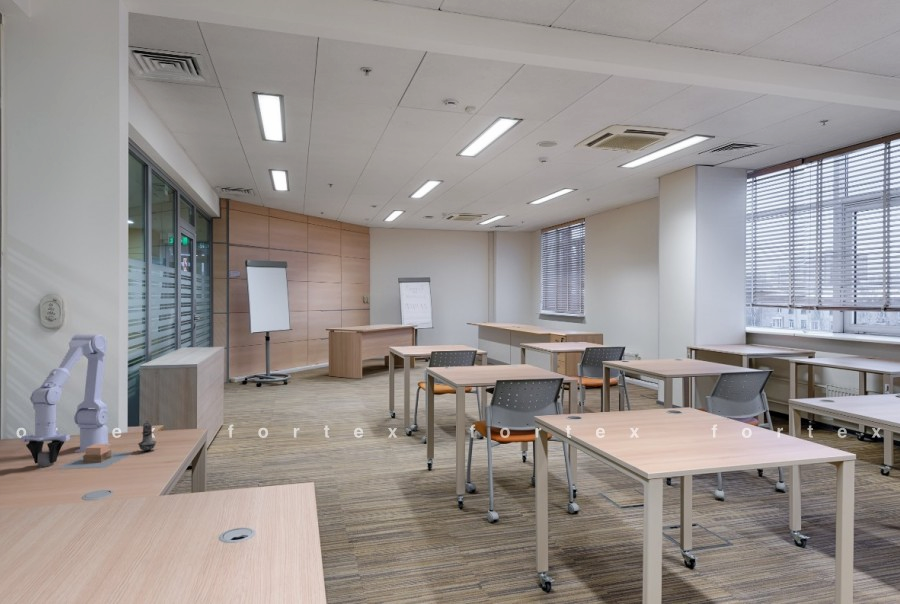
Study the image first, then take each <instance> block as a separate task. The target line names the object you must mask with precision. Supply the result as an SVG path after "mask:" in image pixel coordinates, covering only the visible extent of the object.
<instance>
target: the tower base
mask: <svg viewBox="0 0 900 604" xmlns="http://www.w3.org/2000/svg"><path fill="white" fill-rule="evenodd" d="M111 453H112V450H110V449H109V451H108V452H105V453H103V454H101V455H86V454H83V455H82V457H83V463H99V462H103V461H105V460H107V459H109V458H111Z"/></svg>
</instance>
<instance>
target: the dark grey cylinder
mask: <svg viewBox="0 0 900 604" xmlns="http://www.w3.org/2000/svg"><path fill="white" fill-rule="evenodd" d="M54 465H55V462H54V463H50V453H49V449H48V450H42V451H41V452H38V463H37V468H41V469H42V468H43V469H44V468H49V467H52V466H54Z"/></svg>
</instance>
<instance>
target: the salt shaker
mask: <svg viewBox="0 0 900 604" xmlns="http://www.w3.org/2000/svg"><path fill="white" fill-rule="evenodd" d="M152 426H153V424H152V423H151V422H149V420H148V419H147V420H146V421H145V422H144V423H143V425H142V432H141V434H142V440H141V442H139V443H137V444H138V447H139V449H140V450H141V451H140V454H148V453H153V452H155V449H154V448H155V446H156V443H157V441H156V440H154V439H153V433H154V432H153V428H152Z"/></svg>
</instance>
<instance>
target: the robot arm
mask: <svg viewBox="0 0 900 604" xmlns="http://www.w3.org/2000/svg"><path fill="white" fill-rule="evenodd" d="M107 343H108V340H107V339H106V337H105V336H104V335H102V334H100V333H97V334H80V333H77V334H74V335H73V336H72V338H71V339H70V341H69V342H68V346H69V348H68V351H67V352H66V354H65V356H64V358H63V359H62V361H61V363H59V366H58V367H57V368H54V369H52V370H51V371H50V372H49V375H47V377H46V378H45V379H44V382H43V383H41V385H40V387H37V388H36V389H34V390H33V391H32V393H31V395H30V397H29V400H30V402H31V404H32V407H33V409H34V412H35V413H34V434H28V435H27V434H25V435H23V436H21V443H26V442H27V444H26V445H25V446H26V448H27V449H28V451H29V452H30V453H31V455H32V458H33V461H34V464H38V452H41V451H43V447H44V443H45V442H48V443H46V444H47V448H48V450H49V453H50V463H54V464H55V463H56V462H57V460H58V456H59V453H60V450H62V447H63V445H64V444H65V442H68V441H70V440H71V439H70V438H71V437H70V436H71V435H70V434H65V433H57V404H58V402H59V401H60V400H61V397H62V392H63V388H64V387H65V385H66V383H68V381H69V379H70V377H71V374H70V371H71V370H72V369H73V368H74V366H75V365H76V364H77V362H78V361H79V360H80V359H81V358H82V356H84V357H85V358H86V359H87V369H86V378H85V387H84V396H83V398H84V399H83V401H82V402H81V403H79V404H77V407H76V411H75V414H74V418H73V420H74V423H75V425H77V428H79V449H76V450H75V451H74V453H86V448H87V447H89V446H91V445H94V444H109V446H111V443H109V428H108V426H107V425H106V423H107V422H108V420H109V411H108V404H106V403H105V402H104V401H102V393H103V384H104V375H105V374H104V373H105V362H106V355H107Z"/></svg>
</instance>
